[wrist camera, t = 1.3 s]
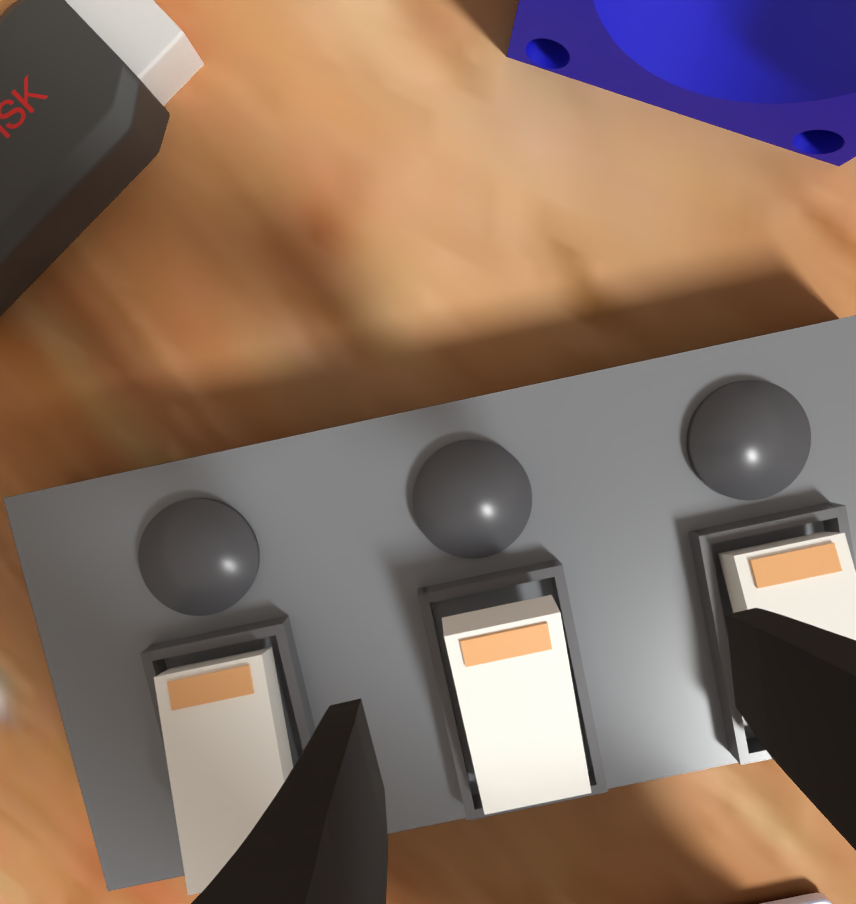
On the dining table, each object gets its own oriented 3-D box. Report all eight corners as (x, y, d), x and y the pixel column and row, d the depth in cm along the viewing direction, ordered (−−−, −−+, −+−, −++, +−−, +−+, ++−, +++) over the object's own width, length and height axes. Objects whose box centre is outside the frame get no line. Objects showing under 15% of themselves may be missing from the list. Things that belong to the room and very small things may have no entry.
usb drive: (-120, 226, 21) (-203, 198, 18) (118, -25, 20) (69, -93, 18) (-12, 334, 21) (-77, 323, 18) (227, 90, 21) (196, 40, 18)
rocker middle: (581, 767, 19) (592, 795, 18) (480, 788, 19) (485, 816, 18) (551, 594, 17) (561, 613, 16) (441, 617, 17) (444, 638, 16)
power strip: (1091, 632, 22) (1227, 678, 18) (150, 826, 22) (96, 909, 19) (1042, 275, 21) (1175, 246, 17) (62, 485, 21) (-14, 501, 18)
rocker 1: (308, 852, 18) (299, 874, 17) (202, 873, 18) (186, 897, 17) (272, 646, 18) (260, 655, 17) (169, 668, 18) (152, 678, 17)
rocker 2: (879, 735, 17) (907, 750, 16) (770, 757, 17) (791, 773, 16) (822, 531, 18) (846, 532, 17) (718, 553, 18) (735, 556, 17)
